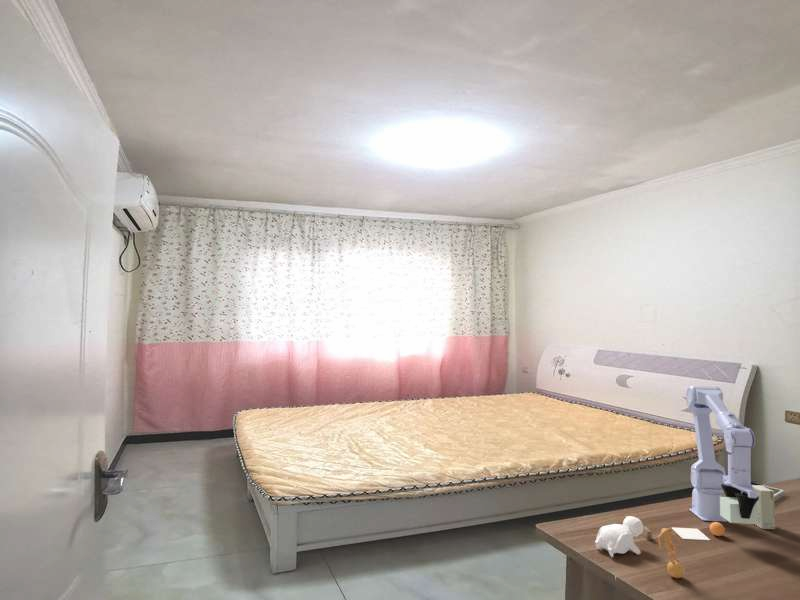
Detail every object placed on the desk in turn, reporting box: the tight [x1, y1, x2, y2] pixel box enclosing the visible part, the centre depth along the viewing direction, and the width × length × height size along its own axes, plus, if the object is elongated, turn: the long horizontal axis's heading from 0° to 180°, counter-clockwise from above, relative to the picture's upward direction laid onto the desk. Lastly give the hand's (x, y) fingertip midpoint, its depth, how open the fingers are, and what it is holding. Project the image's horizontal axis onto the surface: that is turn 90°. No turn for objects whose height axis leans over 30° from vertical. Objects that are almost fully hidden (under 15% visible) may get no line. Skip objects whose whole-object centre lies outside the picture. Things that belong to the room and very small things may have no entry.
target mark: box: [670, 527, 711, 541], centre depth 157 cm, size 8×8×1 cm
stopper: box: [633, 515, 653, 541], centre depth 159 cm, size 12×1×2 cm, turn 175°
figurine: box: [657, 527, 685, 579], centre depth 132 cm, size 8×6×12 cm
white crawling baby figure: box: [594, 515, 644, 558], centre depth 146 cm, size 9×8×15 cm
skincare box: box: [751, 484, 776, 530], centre depth 165 cm, size 6×4×12 cm
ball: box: [709, 521, 726, 537], centre depth 157 cm, size 4×4×4 cm
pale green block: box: [720, 496, 758, 525], centre depth 151 cm, size 6×8×6 cm
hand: (739, 513), depth 151 cm, fingers closed on pale green block, 6 cm apart
